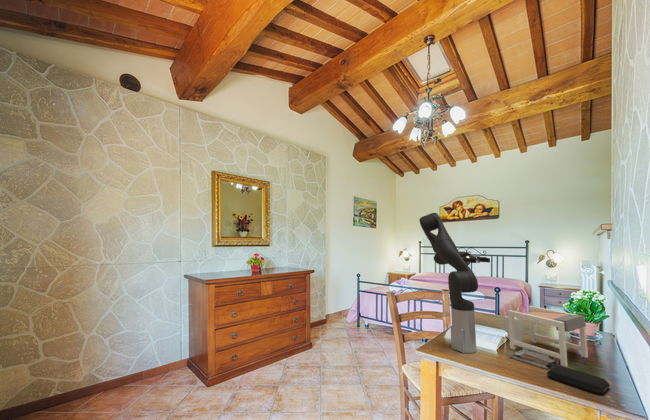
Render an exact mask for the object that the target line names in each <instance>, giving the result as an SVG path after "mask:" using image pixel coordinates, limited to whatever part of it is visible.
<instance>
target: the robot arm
mask: <svg viewBox="0 0 650 420" xmlns="http://www.w3.org/2000/svg"><path fill="white" fill-rule="evenodd" d="M419 224H420V227H421V229H422V231H423V232H424V234H425V236H426V238H427V240H428V241H429V243H430V245H431V248H432V250H433V252H434V253H435V254H434V256H433V261H434V262H435V263H436V264H438V265H449V266H451V268H454V269H455V271H451V272H450V273H449V274H448V279H447V283H448V292H449V295H448V296H449V301H450V309H451V310H450V311H451V314H450V315H451V316H450V317H451V326H450V346H451V350H455V351H458V352H460V353H462V354H473V353H476V352H477V338H476V337H477V336H476V332H477V331H476V317H475V314H476V313H475V304H474V302H473V301H471V300H468V299H466V298H464V297H463V295H462V293H465V294H466V293H475V292H476V291H478V289H479V282H478V279H477V277H476V275H475V273H474V272H473V270H472V269H471V267H470V266H469V265H471V264H479V263H491V259H490V258H489V257H487V256H478V255H471V254H470V253H469V252H467V251H459V249H458V248H457V246H456V244H455V242H454V241H453V239H452V237H451V235H450V234H449V232H448V231H447V229H446V226H445V225H444V223H443V221H442V219H441V217H440V215H439V214H438V213H437V212H431V213H429V214H426V215H424V216H421V217H420V218H419ZM436 230H437V234H435V233H434V232H432V231H436Z"/></svg>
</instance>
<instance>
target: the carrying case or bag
mask: <svg viewBox="0 0 650 420" xmlns="http://www.w3.org/2000/svg"><path fill="white" fill-rule="evenodd" d="M546 374H547V376H548V377H549V379H552V380H554V381H556V382H558V383H562V384H565V385H569V386H571V387H573V388H577V389H579V390H580V389H581V390H583V391H585V392H588V393H593V394H596V395H603V394H604V393H605V392H606V391H608V389H609V388H610V387H611V385H610V383H609V382H608V380H606V379H605V378H604V377H603V378H602V377H601V376H600V377H599V376H597V375H593V374H590V373H586V372H583V371H580V370H577V369H573V368H569V367H568V366H567V367H564V366H561V365H560V364H558V365H557V366H553V367H551V368H549V370H548V371H547V372H546Z"/></svg>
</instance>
